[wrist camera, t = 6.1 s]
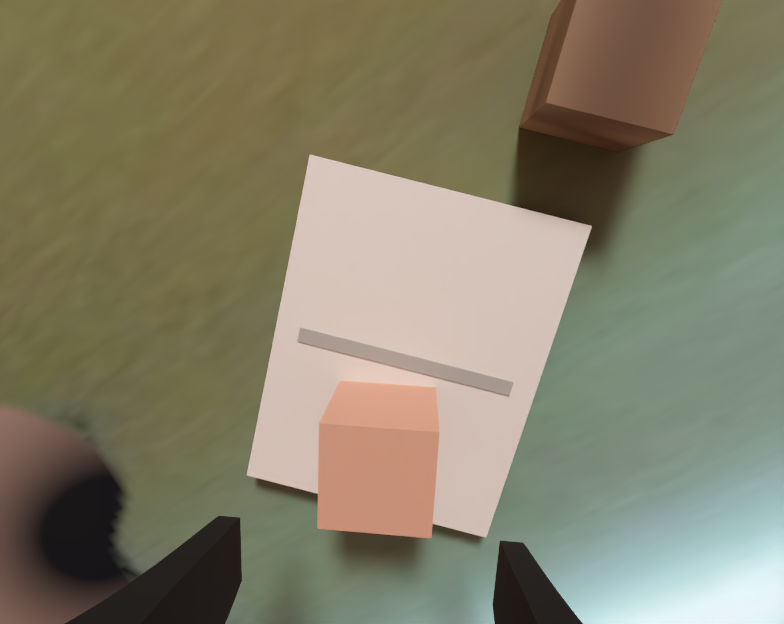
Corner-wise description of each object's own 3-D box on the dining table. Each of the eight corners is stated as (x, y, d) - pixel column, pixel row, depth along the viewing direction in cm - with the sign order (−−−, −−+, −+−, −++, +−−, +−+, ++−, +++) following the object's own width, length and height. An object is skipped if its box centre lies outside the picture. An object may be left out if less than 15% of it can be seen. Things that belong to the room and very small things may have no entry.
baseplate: (580, 225, 18) (592, 225, 17) (482, 519, 21) (486, 538, 20) (316, 158, 18) (309, 154, 17) (256, 461, 21) (246, 476, 20)
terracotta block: (429, 474, 20) (431, 538, 16) (337, 467, 20) (317, 528, 16) (435, 387, 19) (439, 432, 15) (339, 380, 19) (319, 423, 15)
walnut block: (655, 42, 17) (726, -11, 13) (617, 152, 18) (673, 134, 14) (550, 17, 17) (589, -44, 13) (518, 127, 18) (545, 102, 14)
